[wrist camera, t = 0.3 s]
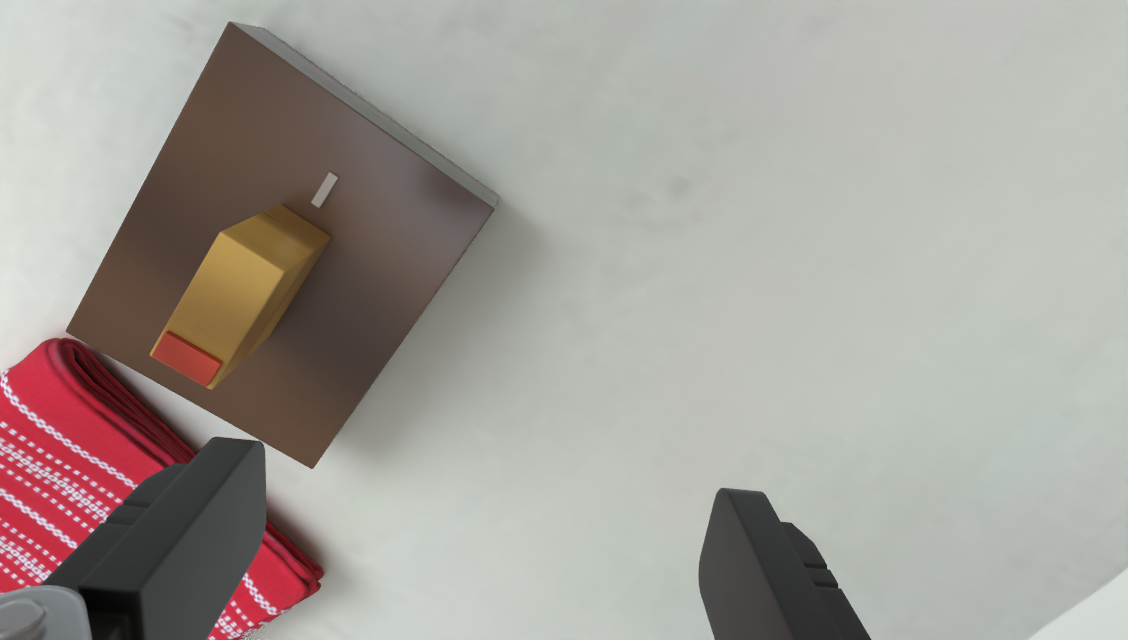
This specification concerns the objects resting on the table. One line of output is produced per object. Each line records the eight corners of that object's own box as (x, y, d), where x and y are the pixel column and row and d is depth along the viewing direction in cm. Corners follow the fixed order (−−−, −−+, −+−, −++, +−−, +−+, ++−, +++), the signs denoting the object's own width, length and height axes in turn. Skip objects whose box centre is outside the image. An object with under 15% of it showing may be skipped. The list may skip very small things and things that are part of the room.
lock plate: (263, 27, 25) (226, 20, 22) (499, 196, 28) (494, 209, 25) (110, 307, 29) (61, 333, 26) (332, 435, 31) (311, 471, 29)
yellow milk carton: (280, 202, 25) (215, 233, 20) (332, 237, 25) (281, 274, 20) (218, 306, 26) (143, 358, 21) (269, 336, 26) (207, 394, 22)
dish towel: (343, 565, 34) (328, 603, 32) (35, 770, 38) (-1, 819, 36) (76, 314, 29) (32, 335, 27) (-246, 580, 33) (-310, 621, 31)
